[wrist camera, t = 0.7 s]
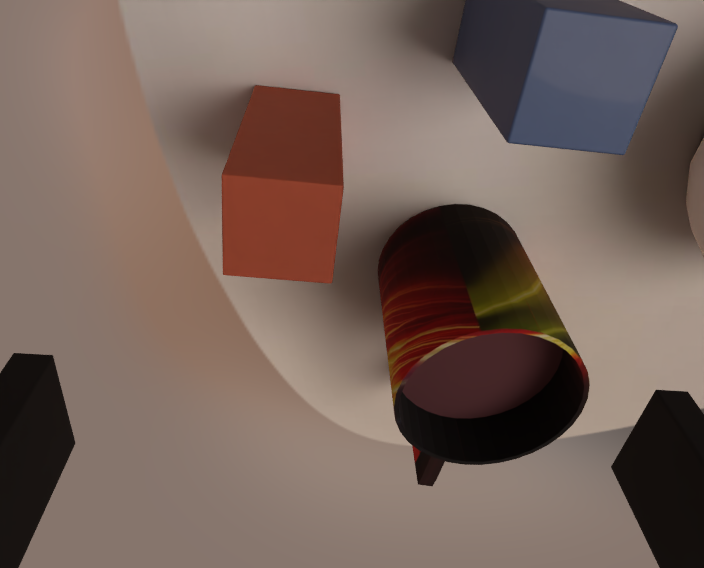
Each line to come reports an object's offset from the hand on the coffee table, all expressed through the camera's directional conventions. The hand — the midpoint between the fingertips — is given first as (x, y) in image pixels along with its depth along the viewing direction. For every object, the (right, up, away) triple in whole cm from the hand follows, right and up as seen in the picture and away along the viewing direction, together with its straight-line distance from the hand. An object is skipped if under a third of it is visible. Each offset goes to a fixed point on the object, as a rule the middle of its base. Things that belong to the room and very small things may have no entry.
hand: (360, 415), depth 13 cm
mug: (+6, +3, +21) cm, 22 cm away
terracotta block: (-3, +11, +15) cm, 19 cm away
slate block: (+7, +15, +13) cm, 20 cm away
